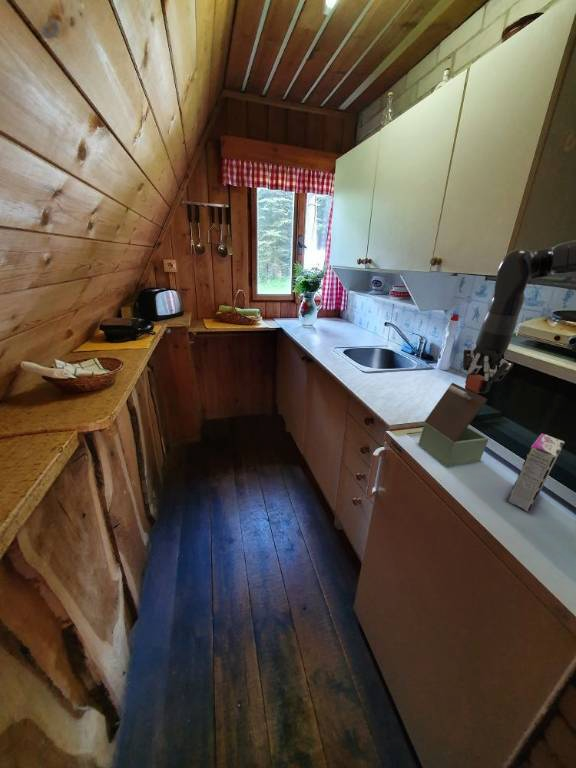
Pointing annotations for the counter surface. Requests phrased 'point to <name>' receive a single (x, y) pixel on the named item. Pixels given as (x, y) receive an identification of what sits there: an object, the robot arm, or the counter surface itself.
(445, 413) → the lid
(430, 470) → the counter surface
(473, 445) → the lidded olive box
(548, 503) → the counter surface
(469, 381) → the block
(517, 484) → the candy bar box
